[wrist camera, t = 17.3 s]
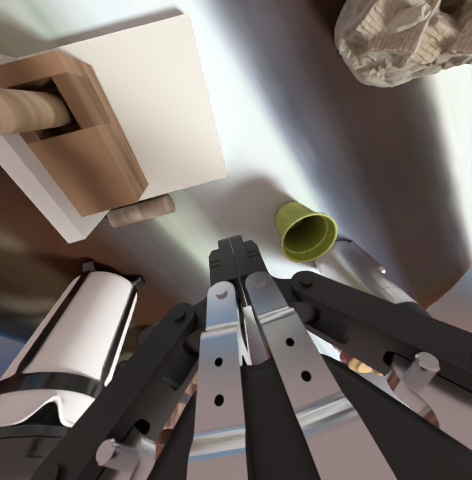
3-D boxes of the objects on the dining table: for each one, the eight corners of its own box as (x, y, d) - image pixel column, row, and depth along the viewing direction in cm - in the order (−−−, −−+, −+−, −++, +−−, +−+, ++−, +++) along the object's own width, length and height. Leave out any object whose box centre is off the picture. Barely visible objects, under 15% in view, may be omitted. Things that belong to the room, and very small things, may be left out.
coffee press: (43, 265, 37) (-279, 591, 12) (133, 251, 38) (11, 518, 13) (89, 321, 46) (-36, 565, 22) (159, 309, 48) (117, 524, 23)
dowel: (74, 90, 21) (-32, 77, 12) (91, 120, 23) (11, 130, 13) (49, 98, 21) (-77, 91, 12) (68, 127, 23) (-29, 142, 13)
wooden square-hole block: (91, 65, 22) (54, 50, 17) (148, 184, 30) (137, 202, 25) (30, 81, 22) (-28, 72, 17) (104, 196, 30) (81, 217, 24)
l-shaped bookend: (189, 18, 23) (183, -38, 14) (226, 174, 33) (237, 197, 24) (8, 65, 22) (-111, 38, 14) (102, 207, 33) (68, 243, 24)
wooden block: (172, 198, 34) (166, 192, 32) (176, 213, 34) (171, 209, 31) (116, 213, 34) (105, 209, 32) (119, 228, 34) (109, 226, 31)
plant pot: (271, 242, 42) (286, 269, 35) (261, 202, 37) (276, 225, 30) (313, 227, 42) (337, 252, 35) (310, 185, 36) (337, 204, 29)
